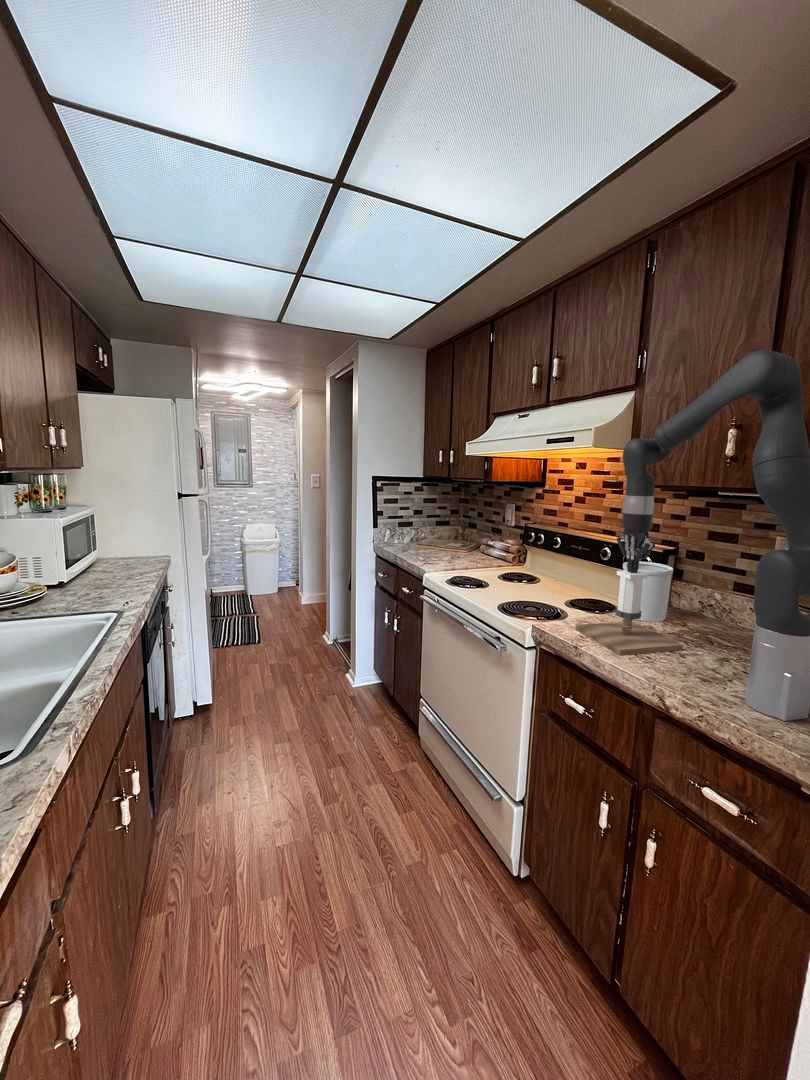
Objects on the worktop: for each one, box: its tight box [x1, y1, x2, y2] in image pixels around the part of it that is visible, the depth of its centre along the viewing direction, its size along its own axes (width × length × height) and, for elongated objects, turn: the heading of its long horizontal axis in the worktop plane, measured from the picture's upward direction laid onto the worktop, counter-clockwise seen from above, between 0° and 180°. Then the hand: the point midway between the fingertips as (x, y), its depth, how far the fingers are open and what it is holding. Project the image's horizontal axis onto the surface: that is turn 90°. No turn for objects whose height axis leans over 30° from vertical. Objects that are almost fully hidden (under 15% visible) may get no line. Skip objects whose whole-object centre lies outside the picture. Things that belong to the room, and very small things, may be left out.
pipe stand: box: [574, 618, 684, 656], centre depth 129 cm, size 20×20×14 cm
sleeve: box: [616, 570, 648, 614], centre depth 128 cm, size 6×6×11 cm
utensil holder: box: [622, 561, 674, 623], centre depth 151 cm, size 15×15×18 cm
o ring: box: [615, 607, 641, 620], centre depth 129 cm, size 6×6×2 cm
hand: (632, 572), depth 127 cm, fingers closed
